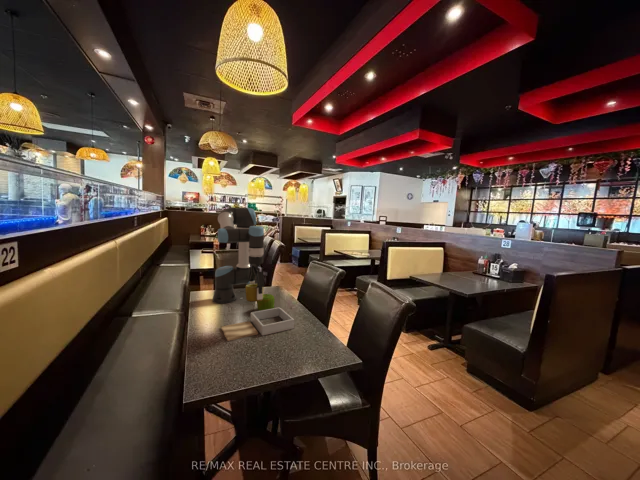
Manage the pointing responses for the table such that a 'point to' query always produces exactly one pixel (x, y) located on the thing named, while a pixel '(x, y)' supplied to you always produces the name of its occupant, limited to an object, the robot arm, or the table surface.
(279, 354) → the table surface
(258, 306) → the apple
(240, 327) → the board
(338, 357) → the table surface
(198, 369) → the table surface
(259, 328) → the tub
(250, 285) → the mug
